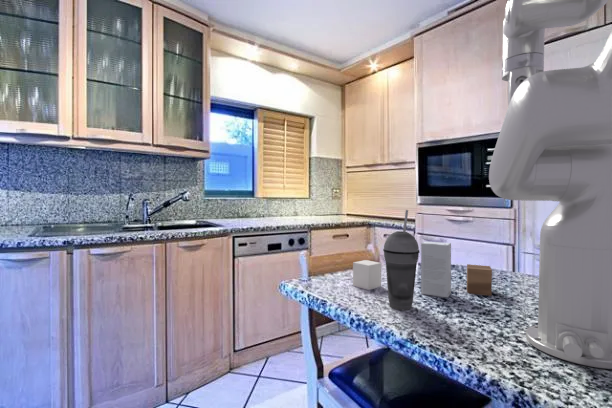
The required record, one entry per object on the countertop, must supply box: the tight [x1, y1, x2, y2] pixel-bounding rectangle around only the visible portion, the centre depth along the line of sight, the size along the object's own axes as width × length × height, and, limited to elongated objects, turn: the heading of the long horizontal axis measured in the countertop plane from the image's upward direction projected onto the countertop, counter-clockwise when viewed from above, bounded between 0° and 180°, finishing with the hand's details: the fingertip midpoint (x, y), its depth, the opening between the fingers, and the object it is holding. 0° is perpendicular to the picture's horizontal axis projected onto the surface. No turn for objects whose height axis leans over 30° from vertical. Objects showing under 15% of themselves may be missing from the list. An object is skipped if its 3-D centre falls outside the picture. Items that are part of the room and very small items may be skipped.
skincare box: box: [420, 241, 452, 299], centre depth 77 cm, size 6×4×12 cm
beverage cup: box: [383, 209, 421, 311], centre depth 68 cm, size 7×7×20 cm
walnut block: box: [466, 264, 493, 297], centre depth 79 cm, size 5×5×6 cm
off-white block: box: [352, 259, 382, 291], centre depth 83 cm, size 5×5×6 cm
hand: (520, 154), depth 71 cm, fingers closed
